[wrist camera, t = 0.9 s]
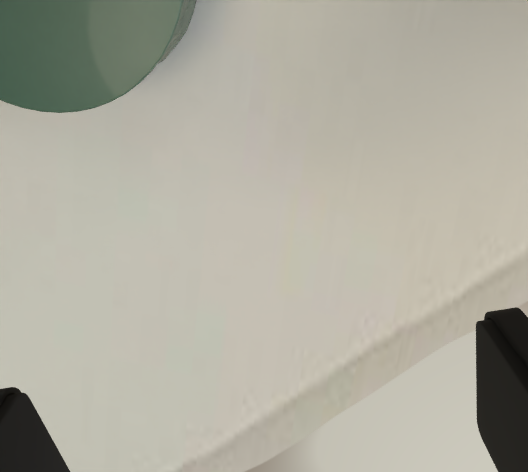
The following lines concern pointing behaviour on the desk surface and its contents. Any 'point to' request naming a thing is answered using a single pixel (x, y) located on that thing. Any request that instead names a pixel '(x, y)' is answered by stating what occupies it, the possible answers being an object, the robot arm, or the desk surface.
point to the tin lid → (80, 49)
